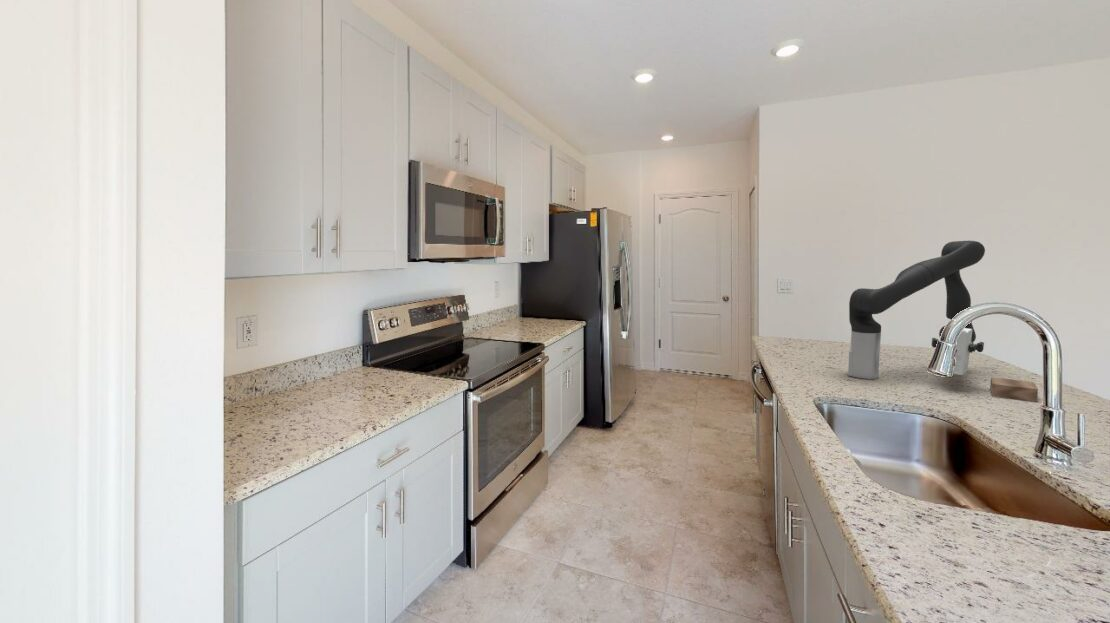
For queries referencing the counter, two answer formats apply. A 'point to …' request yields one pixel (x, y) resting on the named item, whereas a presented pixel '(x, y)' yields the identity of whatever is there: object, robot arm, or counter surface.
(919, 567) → the counter surface
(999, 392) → the walnut base
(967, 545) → the counter surface
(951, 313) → the robot arm
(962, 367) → the skincare box
